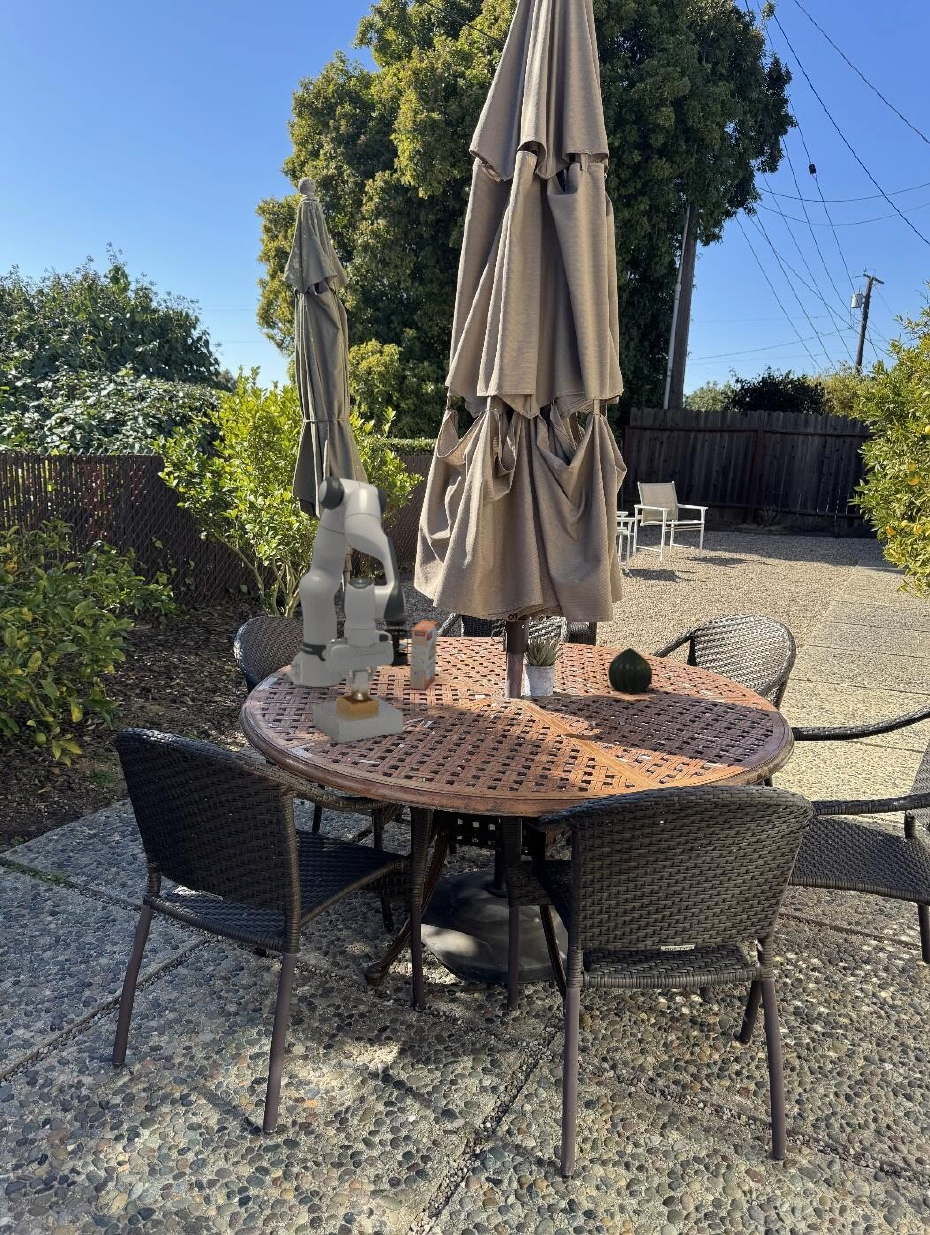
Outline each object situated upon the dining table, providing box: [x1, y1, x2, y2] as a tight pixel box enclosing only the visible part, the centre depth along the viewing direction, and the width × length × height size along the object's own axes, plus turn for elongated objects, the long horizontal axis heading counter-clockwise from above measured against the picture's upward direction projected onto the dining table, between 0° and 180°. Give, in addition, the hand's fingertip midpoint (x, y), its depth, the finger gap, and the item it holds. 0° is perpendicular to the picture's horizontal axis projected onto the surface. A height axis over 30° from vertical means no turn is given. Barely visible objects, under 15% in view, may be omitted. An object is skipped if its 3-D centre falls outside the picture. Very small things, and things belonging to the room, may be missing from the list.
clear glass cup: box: [350, 668, 370, 700], centre depth 248 cm, size 5×5×8 cm
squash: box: [607, 647, 653, 694], centre depth 298 cm, size 14×15×15 cm
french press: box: [383, 615, 409, 667], centre depth 318 cm, size 12×9×23 cm
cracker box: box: [409, 620, 438, 691], centre depth 293 cm, size 14×6×21 cm, turn 168°
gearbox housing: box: [312, 693, 404, 744], centre depth 250 cm, size 18×20×9 cm
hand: (359, 682), depth 248 cm, fingers closed on clear glass cup, 5 cm apart
